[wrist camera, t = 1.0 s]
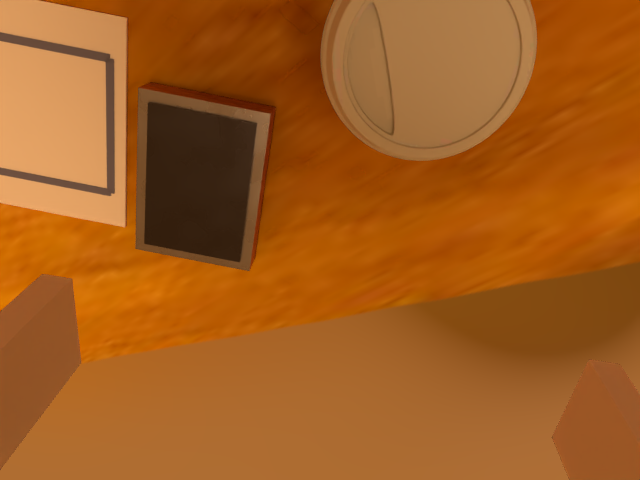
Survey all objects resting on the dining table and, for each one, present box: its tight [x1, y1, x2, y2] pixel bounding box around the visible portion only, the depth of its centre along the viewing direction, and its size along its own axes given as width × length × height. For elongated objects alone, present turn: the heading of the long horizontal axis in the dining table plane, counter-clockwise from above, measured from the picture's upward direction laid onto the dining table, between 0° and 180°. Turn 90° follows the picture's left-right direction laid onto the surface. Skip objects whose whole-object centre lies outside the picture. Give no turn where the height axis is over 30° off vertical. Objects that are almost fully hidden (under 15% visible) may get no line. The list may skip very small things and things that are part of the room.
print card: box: [0, 0, 128, 227], centre depth 33 cm, size 14×11×1 cm
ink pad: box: [136, 82, 276, 271], centre depth 33 cm, size 11×8×2 cm
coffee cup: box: [321, 0, 537, 161], centre depth 24 cm, size 9×9×12 cm
